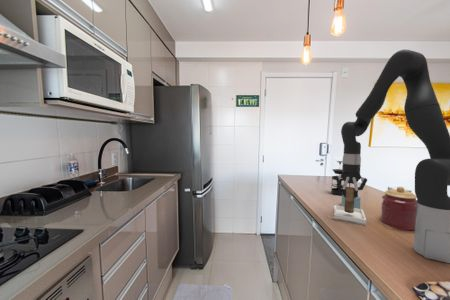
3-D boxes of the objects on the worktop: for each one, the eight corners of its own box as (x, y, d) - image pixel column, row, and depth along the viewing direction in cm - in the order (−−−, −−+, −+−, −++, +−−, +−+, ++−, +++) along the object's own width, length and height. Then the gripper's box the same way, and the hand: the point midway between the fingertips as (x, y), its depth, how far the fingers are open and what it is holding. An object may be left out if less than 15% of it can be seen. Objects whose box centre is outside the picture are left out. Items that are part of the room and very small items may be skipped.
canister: (421, 234, 84) (424, 192, 83) (382, 226, 91) (384, 188, 90) (413, 222, 95) (415, 185, 94) (378, 216, 102) (380, 182, 101)
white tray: (366, 225, 92) (366, 220, 92) (333, 219, 98) (334, 214, 98) (362, 214, 105) (362, 209, 105) (334, 209, 111) (334, 205, 111)
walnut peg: (353, 213, 99) (355, 189, 98) (344, 212, 101) (345, 188, 100) (353, 210, 102) (354, 187, 101) (344, 209, 104) (345, 186, 103)
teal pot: (360, 211, 108) (361, 199, 108) (341, 208, 112) (342, 196, 112) (358, 206, 116) (359, 194, 115) (341, 204, 120) (341, 192, 119)
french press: (330, 195, 137) (331, 161, 135) (329, 191, 146) (330, 160, 144) (350, 197, 132) (352, 162, 131) (348, 193, 141) (350, 161, 139)
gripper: (334, 162, 100) (333, 197, 101) (370, 164, 93) (368, 201, 94) (335, 161, 106) (333, 193, 107) (367, 162, 99) (366, 197, 101)
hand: (349, 196), depth 101 cm, fingers closed on walnut peg, 3 cm apart
